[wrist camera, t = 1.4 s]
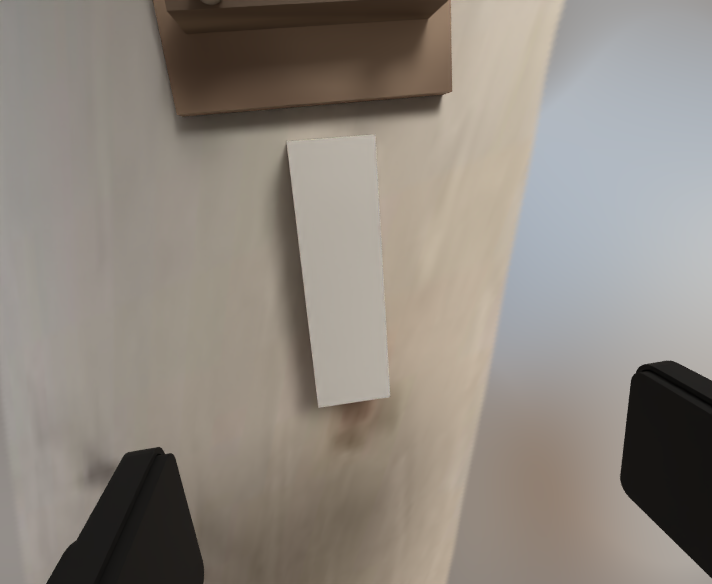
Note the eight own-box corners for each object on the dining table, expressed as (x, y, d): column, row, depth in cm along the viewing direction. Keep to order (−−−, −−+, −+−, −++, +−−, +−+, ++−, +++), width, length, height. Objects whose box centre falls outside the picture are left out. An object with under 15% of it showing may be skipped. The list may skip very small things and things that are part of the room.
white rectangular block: (286, 142, 20) (286, 141, 17) (359, 137, 21) (375, 134, 17) (313, 367, 24) (318, 407, 20) (374, 359, 25) (390, 396, 21)
